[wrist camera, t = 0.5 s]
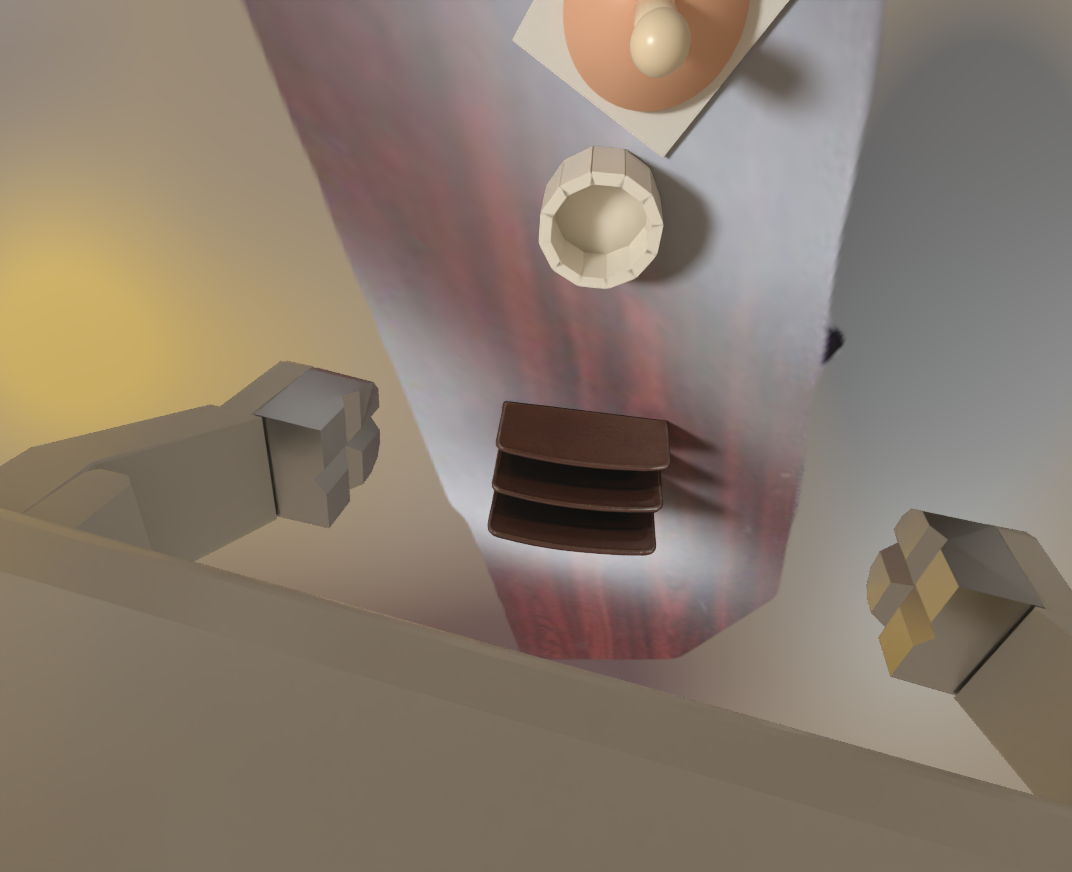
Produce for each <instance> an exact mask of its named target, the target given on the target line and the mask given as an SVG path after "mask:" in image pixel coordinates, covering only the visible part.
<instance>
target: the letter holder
mask: <svg viewBox="0 0 1072 872" xmlns="http://www.w3.org/2000/svg"><path fill="white" fill-rule="evenodd" d="M496 446H497V447H498V448H499V449H498V454H497V459H496V465H495V470H494V475H493V480H492V488H493V489H494V494H493V500H492V505H491V510H490V514H489V520H488V530H489V532H490V533H491V534H492V535H493V536H496V537H498V538H502V539H507V540H511V541H514V542H519V543H523V544H528V545H533V546H538V547H544V548H550V549H557V550H565V551H574V552H584V553H595V554H610V555H649V554H652V553H653V552H654V551H655V549H656V538H655V524H654V513H655V512H657V511H659V510H660V509H661V508H662V506H663V499H662V484H661V471H662V470H665V469H667V468H669V466H670V460H671V458H670V448H669V434H668V423H667V421H662V420H655V419H646V418H637V417H629V416H622V415H621V416H620V415H613V414H605V413H597V412H590V411H581V410H574V409H565V408H556V407H547V406H540V405H531V404H522V403H515V402H504V403H503V406H502V413H501V418H500V424H499V428H498V434H497V438H496Z"/></svg>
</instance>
